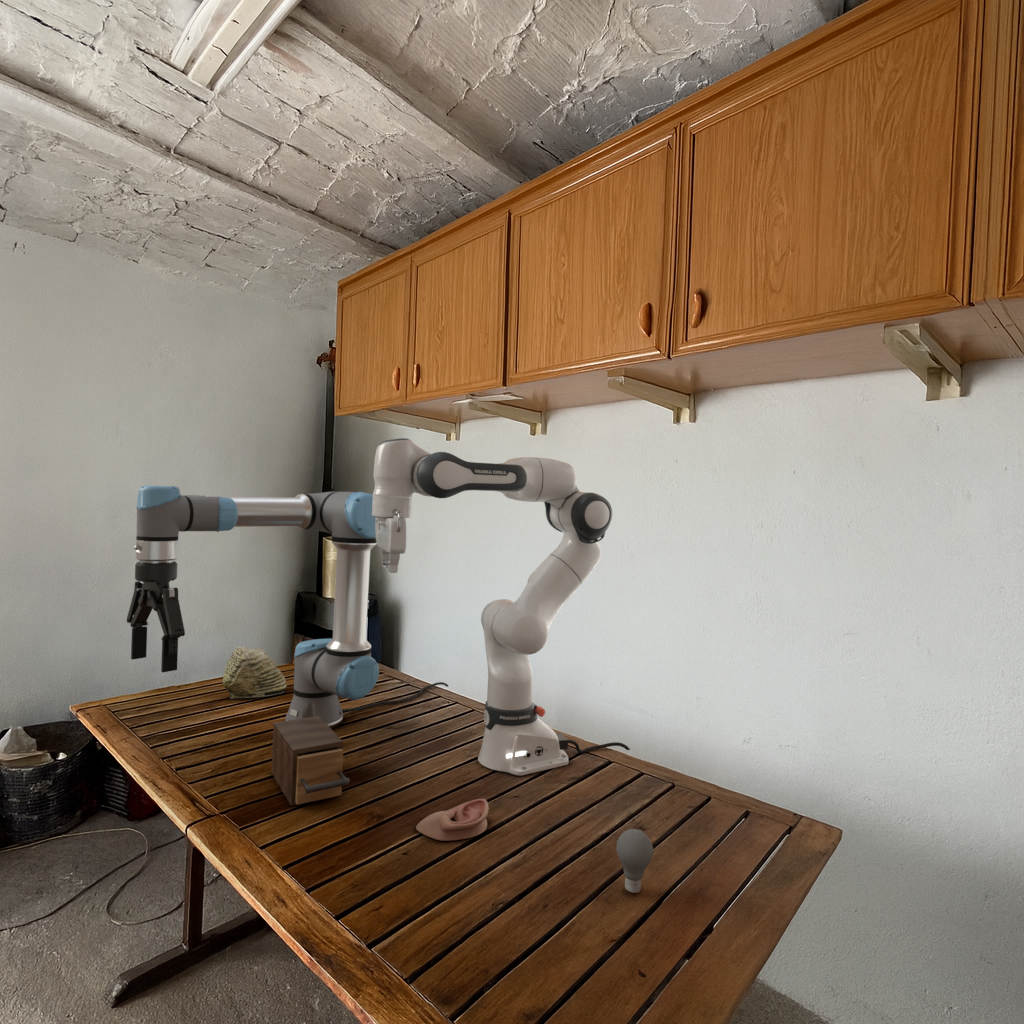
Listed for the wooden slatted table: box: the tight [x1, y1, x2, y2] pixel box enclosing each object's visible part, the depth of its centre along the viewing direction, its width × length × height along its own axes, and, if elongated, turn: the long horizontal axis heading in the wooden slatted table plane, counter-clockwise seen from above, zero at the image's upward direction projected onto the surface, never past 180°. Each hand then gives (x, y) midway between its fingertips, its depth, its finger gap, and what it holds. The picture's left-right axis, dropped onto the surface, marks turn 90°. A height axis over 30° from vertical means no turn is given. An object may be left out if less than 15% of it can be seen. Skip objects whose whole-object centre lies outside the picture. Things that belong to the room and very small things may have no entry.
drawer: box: [296, 748, 351, 806], centre depth 135 cm, size 22×9×10 cm, turn 33°
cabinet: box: [271, 716, 344, 807], centre depth 139 cm, size 18×10×12 cm, turn 33°
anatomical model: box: [415, 798, 489, 842], centre depth 124 cm, size 13×4×12 cm
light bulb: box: [615, 828, 654, 894], centre depth 106 cm, size 6×6×10 cm
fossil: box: [222, 646, 288, 699], centre depth 198 cm, size 9×18×15 cm, turn 132°
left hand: (153, 664), depth 130 cm, fingers open, 13 cm apart
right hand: (389, 570), depth 144 cm, fingers open, 8 cm apart
